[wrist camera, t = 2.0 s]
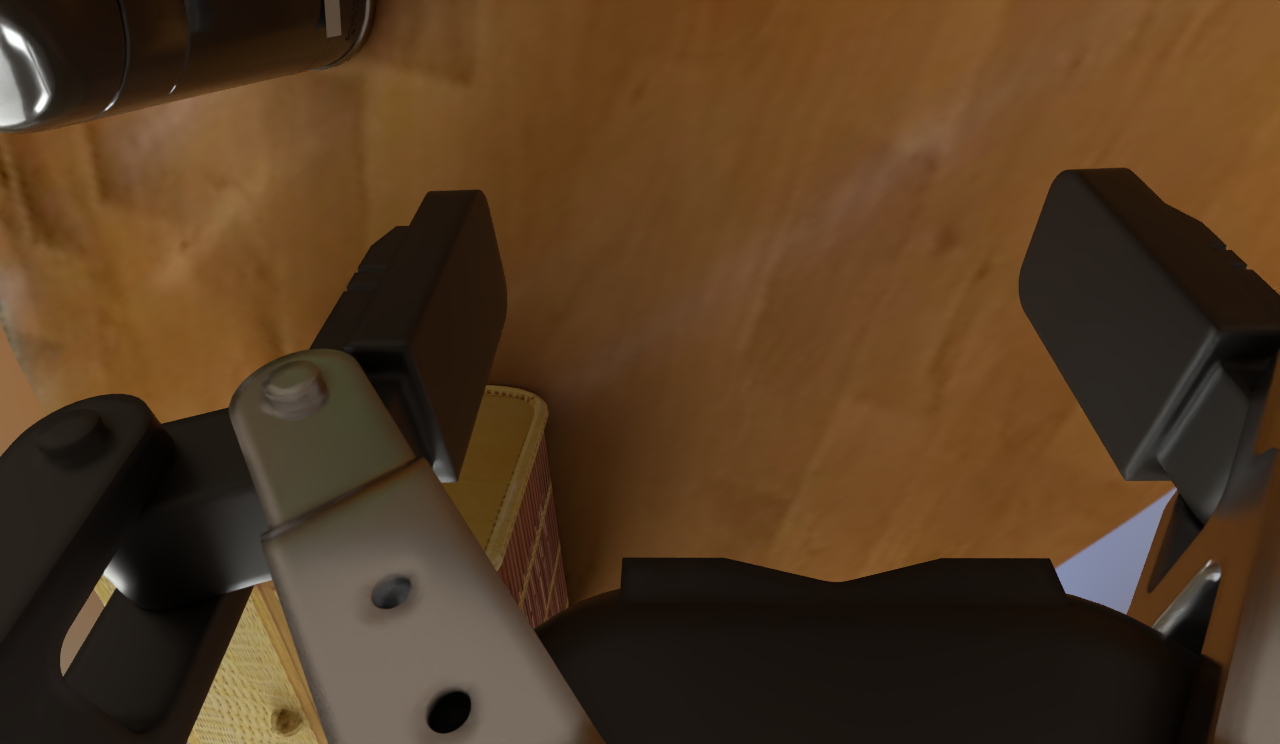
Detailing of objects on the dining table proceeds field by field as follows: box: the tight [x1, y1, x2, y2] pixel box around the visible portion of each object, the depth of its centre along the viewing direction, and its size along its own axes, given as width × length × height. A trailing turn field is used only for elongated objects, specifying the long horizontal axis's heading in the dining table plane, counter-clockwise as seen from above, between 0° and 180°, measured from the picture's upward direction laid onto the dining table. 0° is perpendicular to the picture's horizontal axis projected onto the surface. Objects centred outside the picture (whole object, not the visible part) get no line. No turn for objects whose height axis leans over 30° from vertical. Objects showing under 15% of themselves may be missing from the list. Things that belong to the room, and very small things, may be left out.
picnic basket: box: [94, 385, 569, 744], centre depth 47 cm, size 29×26×30 cm
